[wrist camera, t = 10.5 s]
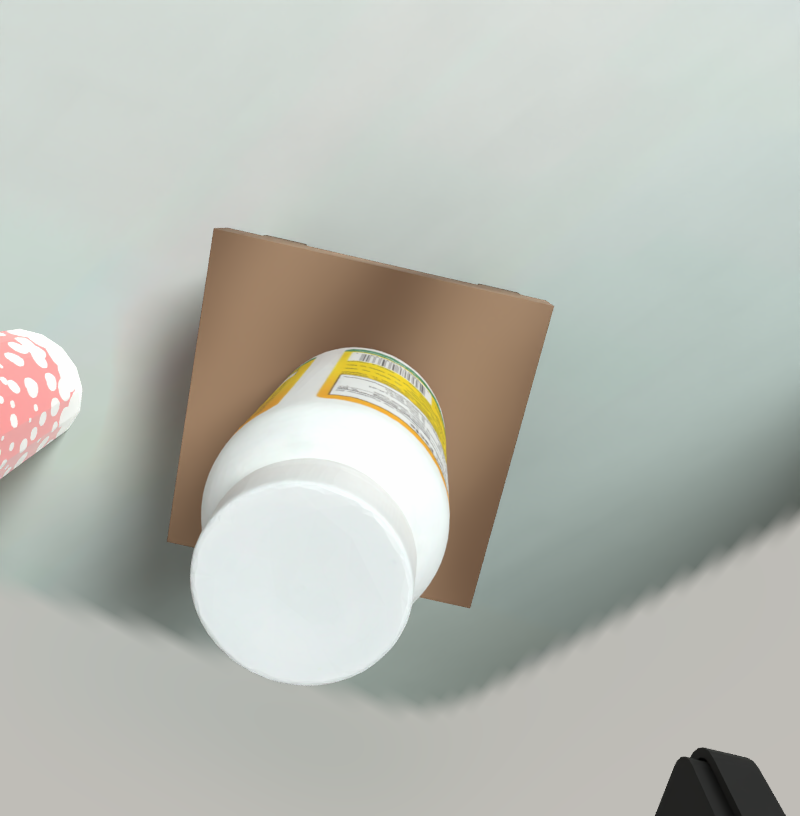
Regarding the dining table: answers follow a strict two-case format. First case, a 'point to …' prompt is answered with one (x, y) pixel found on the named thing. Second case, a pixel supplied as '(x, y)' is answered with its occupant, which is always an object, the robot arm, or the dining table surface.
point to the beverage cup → (33, 395)
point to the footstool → (374, 329)
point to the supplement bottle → (324, 520)
